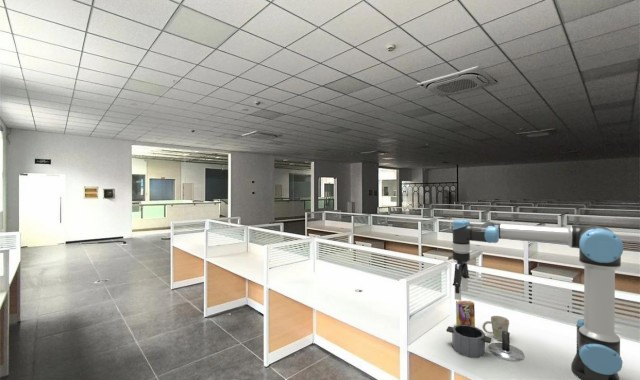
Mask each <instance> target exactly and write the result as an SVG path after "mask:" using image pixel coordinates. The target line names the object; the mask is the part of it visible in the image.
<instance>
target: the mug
mask: <svg viewBox="0 0 640 380" xmlns="http://www.w3.org/2000/svg"><path fill="white" fill-rule="evenodd" d="M488 324H491V328H492V331H488V330H487V329H486V325H488ZM509 325H510V320H509V319H508V318H507V317H504V316H501V315H493V316H490V320H486V321H484V322H483V323H482V331H483V332H484V333H485V334H486V333H487V334H491V335H492V336H493V338H494V339H495V340H499V341H502V331H507V332H509V327H510V326H509Z"/></svg>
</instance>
